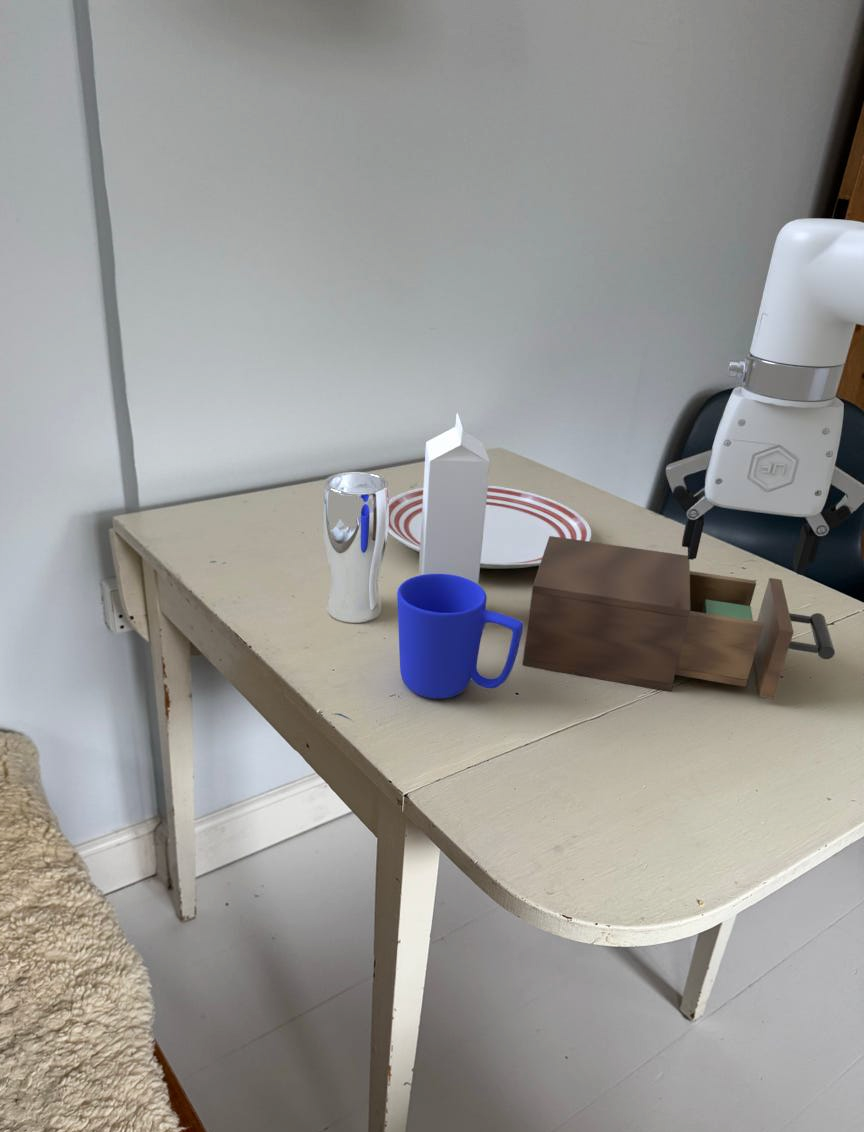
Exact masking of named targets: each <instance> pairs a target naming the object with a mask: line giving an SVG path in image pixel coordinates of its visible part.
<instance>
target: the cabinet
mask: <svg viewBox="0 0 864 1132" xmlns="http://www.w3.org/2000/svg"><path fill="white" fill-rule="evenodd" d="M690 563H691V562H690V559H688V555H685V554H678V553H671V552H664V551H659V550H658V551H657V550H651V549H644V548H637V547H631V546H622V545H617V544H610V543H602V542H594V541H590V542H589V541H582V540H575V539H568V538H561V537H554V536H549V539H548V542H547V545H546V548H545V551H544V554H543V557H542V560H541V563H540V565H538V569H537V572H536V575H535V578H534V581H533V584H532V591H531V597H530V605H529V611H528V612H529V613H528V620H527V627H526V635H525V642H524V649H523V650H524V651H523V656H522V657H523V659H522V666H526V667H531V668H536V669H544V670H547V671H554V672H558V673H563V674H564V673H565V674H569V675H570V674H571V675H576V676H582V677H587V678H592V679H599V680H605V681H609V682H616V683H620V684H627V685H633V686H637V687H642V688H649V689H654V690H660V691H666V692H672V688H673V684H674V680H675V676H676V675H675V672H676V668H677V664H678V660H679V656H680V652H681V647H682V643H683V639H684V635H685V631H686V627H687V622H688V618H689V614H690V571H691V570H690V568H691V566H690V565H691V564H690Z"/></svg>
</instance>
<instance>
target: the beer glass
mask: <svg viewBox="0 0 864 1132" xmlns="http://www.w3.org/2000/svg"><path fill="white" fill-rule="evenodd" d="M323 493H324V494H323V503H322V504H323V507H322V533H323V539H324V546H325V552H326V556H327V557H326V558H327V562H328V568H329V573H330V574H329V575H330V589H329V595H328V600H327V604H326V610H327V613H328V615H330V617H332V618H334V619H335V620H337V621H340V622H343V623H350V624H361V623H366V622H371V621H373V620H375V619H376V618H378V617H379V616H380V615H381V613H382V607H383V606H382V600H381V594H380V575H381V570H382V564H383V561H384V557H385V551H386V546H387V542H388V536H389V532H388V527H389V500H390V499H389V481H388V480H387V479H386V478H385V477H383V476H382V475H379V474H376V473H373V472H366V471H344V472H343V471H342V472H339V473H335V474H332V475H330V476H328V477H327V478H326V479H325V481H324V492H323Z"/></svg>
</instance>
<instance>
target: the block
mask: <svg viewBox="0 0 864 1132" xmlns="http://www.w3.org/2000/svg"><path fill="white" fill-rule="evenodd" d="M702 613H707V614H713V615H720V616H726V617H732V618H739V619H745V620H752V621H754V620H753V613H752V606H751V605H750V606H745V605H739V604H732V603H726V602H719V601H713V600H705V603H704V607H703V611H702Z"/></svg>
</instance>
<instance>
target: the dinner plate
mask: <svg viewBox="0 0 864 1132" xmlns="http://www.w3.org/2000/svg"><path fill="white" fill-rule="evenodd" d="M423 488H424V486H422V487H418V488H414V489H410V490H407V491H404V492H402V493H399V494H397V495H395V496H393V497H392V498H390V499H389V527H388V534H389V535H390V536H391V537H392V538H394V539H395V540H396V541H398V542H400V543H401V545H404V546H405V547H407V548H409V549H411V550H414V551H416V552H417V553H420V540H421V522H422V505H423ZM592 534H593V533H592V528H591V526H590V524H589V522H588V521H587V520H586V519H585V518H584V517H583V516H582V515H581V514H580V513H579V512H577V511H575V510H574V509H572V508H571V507H569V506H567V505H565V504H563V503H561V502H558V501H557V500H554V499H551V498H548V497H546V496H543V495H540V494H536V493H532V492H528V491H524V490H522V489H521V490H520V489H515V488H510V487H504V486H497V485H489V484H488V489H487V500H486V510H485V520H484V531H483V541H482V551H481V561H480V569H492V570H493V569H494V570H496V569H497V570H500V569H523V568H531V567H537V566H538V567H539V566H540V563H541V560H542V557H543V554H544V551H545V548H546V545H547V542H548V539H549V536H554V537H561V538H568V539H575V540H582V541H589V542H591V540H592V538H593V537H592V536H593V535H592Z"/></svg>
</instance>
